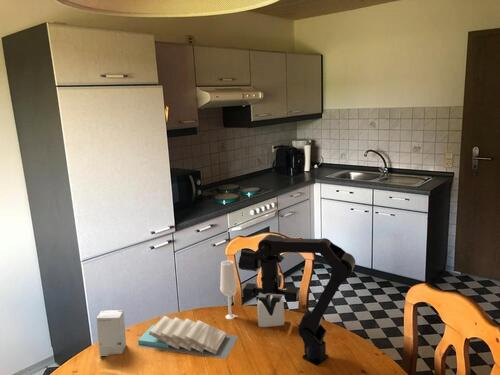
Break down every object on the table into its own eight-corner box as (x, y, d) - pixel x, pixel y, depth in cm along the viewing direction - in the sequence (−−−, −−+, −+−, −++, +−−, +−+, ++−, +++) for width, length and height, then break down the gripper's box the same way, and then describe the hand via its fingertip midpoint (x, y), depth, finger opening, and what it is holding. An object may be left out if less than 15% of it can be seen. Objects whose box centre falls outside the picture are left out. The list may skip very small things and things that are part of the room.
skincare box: (99, 357, 145) (94, 318, 142) (104, 347, 151) (100, 310, 148) (123, 356, 145) (119, 317, 142) (128, 346, 151) (123, 308, 148)
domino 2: (192, 329, 156) (164, 315, 158) (179, 345, 145) (149, 330, 147) (191, 332, 156) (163, 318, 158) (178, 349, 146) (148, 334, 148)
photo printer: (258, 330, 158) (257, 300, 155) (257, 324, 162) (256, 294, 159) (285, 327, 158) (284, 297, 156) (283, 321, 163) (282, 292, 160)
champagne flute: (218, 319, 167) (215, 262, 162) (231, 312, 171) (228, 258, 167) (229, 324, 162) (225, 267, 157) (242, 318, 167) (239, 262, 162)
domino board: (238, 338, 152) (238, 336, 152) (226, 361, 139) (226, 358, 139) (155, 328, 162) (155, 326, 162) (136, 349, 149) (136, 346, 149)
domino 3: (203, 330, 154) (175, 316, 156) (191, 347, 144) (161, 332, 146) (202, 334, 155) (174, 320, 157) (190, 351, 144) (160, 335, 147)
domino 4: (214, 331, 153) (186, 318, 155) (203, 348, 143) (173, 333, 145) (213, 335, 153) (185, 321, 156) (202, 352, 143) (171, 337, 145)
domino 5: (227, 333, 152) (198, 319, 154) (216, 350, 141) (185, 335, 144) (226, 336, 152) (197, 323, 154) (215, 354, 142) (184, 339, 144)
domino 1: (181, 327, 157) (153, 324, 160) (168, 344, 146) (137, 340, 150) (181, 331, 157) (153, 328, 160) (168, 348, 147) (138, 344, 150)
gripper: (301, 265, 144) (302, 306, 147) (249, 261, 149) (251, 301, 152) (295, 278, 134) (296, 322, 137) (240, 274, 139) (242, 316, 142)
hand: (271, 315), depth 142 cm, fingers closed
